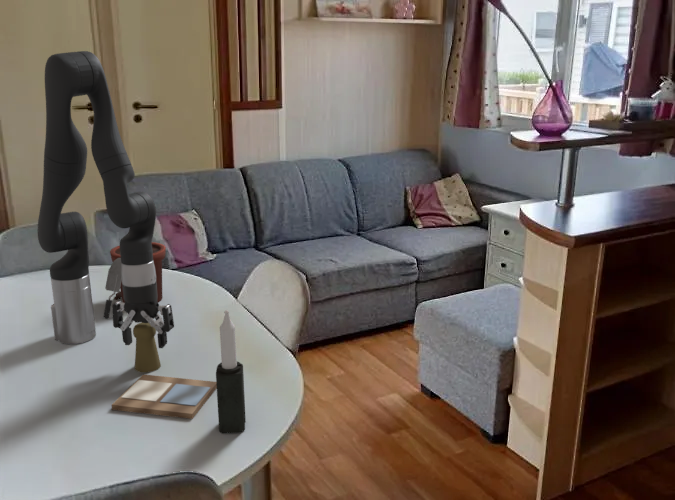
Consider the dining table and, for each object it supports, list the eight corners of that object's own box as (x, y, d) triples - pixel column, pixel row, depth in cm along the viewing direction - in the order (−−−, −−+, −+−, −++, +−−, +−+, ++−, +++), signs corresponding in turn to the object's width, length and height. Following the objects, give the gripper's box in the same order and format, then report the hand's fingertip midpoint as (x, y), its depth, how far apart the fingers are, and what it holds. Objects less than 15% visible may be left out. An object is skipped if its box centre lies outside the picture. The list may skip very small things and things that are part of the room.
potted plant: (178, 304, 201) (172, 222, 194) (104, 319, 190) (94, 233, 183) (159, 287, 215) (153, 210, 208) (88, 300, 204) (79, 219, 197)
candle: (220, 420, 139) (214, 305, 132) (245, 419, 139) (240, 305, 132) (218, 433, 134) (211, 315, 127) (244, 432, 135) (239, 315, 127)
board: (112, 409, 143) (111, 403, 143) (143, 379, 156) (143, 373, 156) (192, 419, 140) (192, 412, 139) (217, 386, 153) (217, 381, 152)
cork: (153, 373, 159) (150, 330, 156) (129, 371, 160) (125, 328, 157) (165, 362, 164) (161, 320, 161) (142, 360, 166) (138, 318, 162)
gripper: (102, 283, 154) (109, 349, 158) (160, 287, 151) (166, 354, 155) (119, 273, 161) (126, 337, 165) (175, 276, 158) (180, 341, 162)
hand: (145, 345), depth 160 cm, fingers open, 8 cm apart
